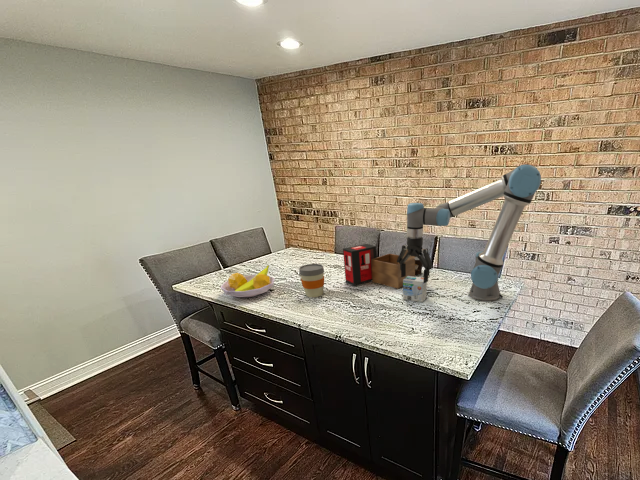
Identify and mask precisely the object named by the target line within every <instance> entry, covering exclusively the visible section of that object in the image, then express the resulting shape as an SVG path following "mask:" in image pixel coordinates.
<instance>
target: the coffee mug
mask: <svg viewBox="0 0 640 480" xmlns="http://www.w3.org/2000/svg"><path fill="white" fill-rule="evenodd" d="M422 270H423V265H422V263H421V261H420V260H419V258H417V257H415V276H421V275H422Z"/></svg>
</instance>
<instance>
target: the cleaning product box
mask: <svg viewBox="0 0 640 480" xmlns="http://www.w3.org/2000/svg"><path fill="white" fill-rule="evenodd" d="M342 253H343V255H342V256H343V266H344V278H345V283H346V284H348V285H350V286H353V287H356V286H357V287H358V286H360V285H364V284H367V283H370V282H372V265H371V260H372V259H375V258H377V246H376V245H374V244H369V243H364V244H363V243H362V244H359V245H354V246H349V247H345V248H342Z"/></svg>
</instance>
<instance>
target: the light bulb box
mask: <svg viewBox="0 0 640 480" xmlns="http://www.w3.org/2000/svg"><path fill="white" fill-rule="evenodd" d="M427 285H428V282H426V283H424V277H420V276H415V277H413V276H407V277H406V278H405V279H403V287H402V300H406V301H411V302H418V303H423V302H424V301H425V300H426V299H427V289H428V286H427Z"/></svg>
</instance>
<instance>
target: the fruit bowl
mask: <svg viewBox="0 0 640 480" xmlns="http://www.w3.org/2000/svg"><path fill="white" fill-rule="evenodd" d="M269 267H270V265H269V264H267V265H266V267H265V268H263V270H261V271H260V272H258V273H257V274H251V275H244V274H241V273H240V272H235V273H231V274H230V276H229V277H228V278H227V280H226V281H224V283H222V285H221V286H220V289H221V290H222V291H223V292H224V293H225V295H227V296H231V297H235V298H253V297H256V296H258V295H262V294H264V293H266V292H268V291H269V290H270V289H271V288H273V287H274V284H275V280H276V278H275V277H273V276H270V275H268V273H269Z"/></svg>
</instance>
